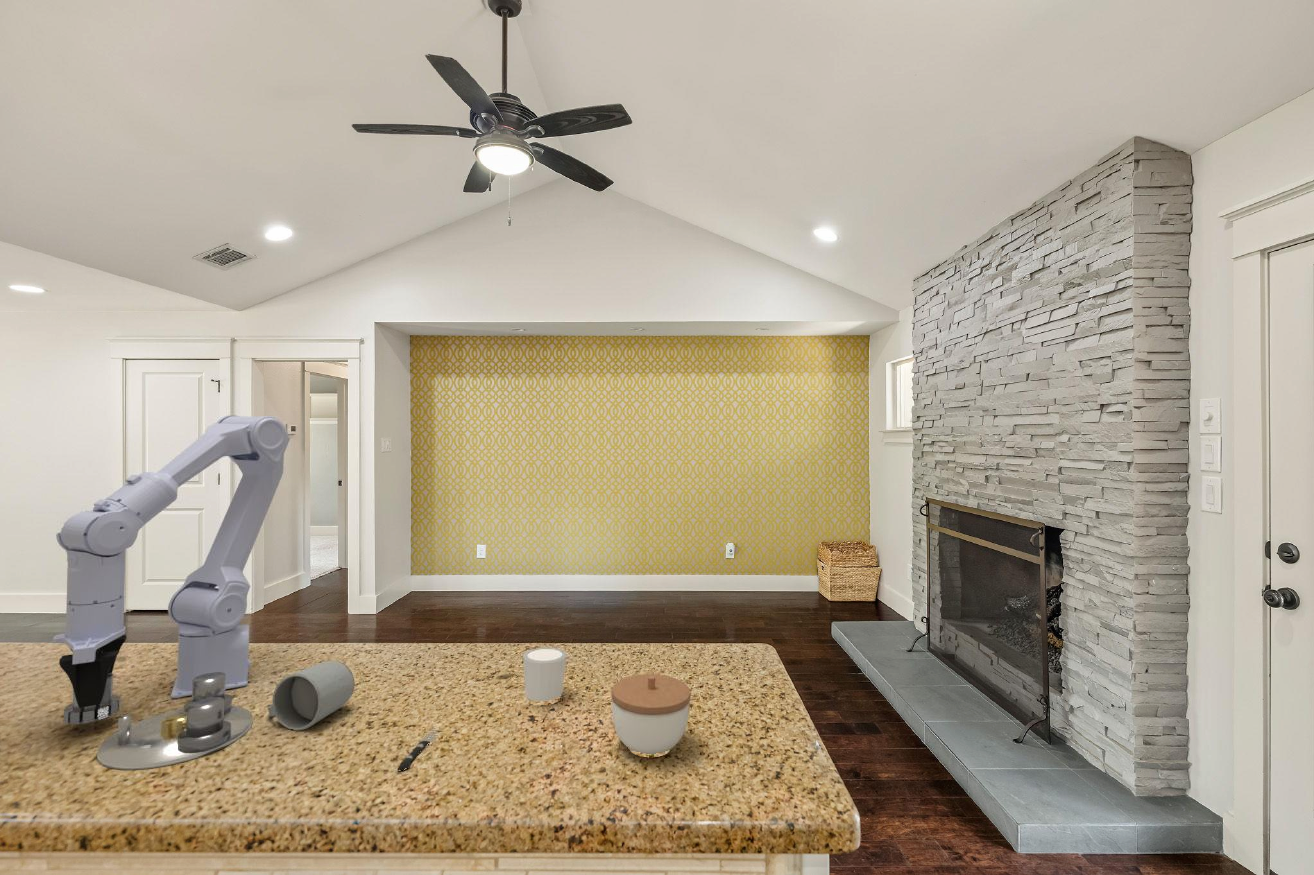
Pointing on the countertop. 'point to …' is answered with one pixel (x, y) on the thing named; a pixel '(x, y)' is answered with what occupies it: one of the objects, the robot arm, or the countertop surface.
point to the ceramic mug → (311, 694)
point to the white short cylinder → (544, 673)
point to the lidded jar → (650, 712)
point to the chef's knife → (417, 750)
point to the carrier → (178, 730)
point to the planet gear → (94, 707)
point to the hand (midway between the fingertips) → (93, 699)
